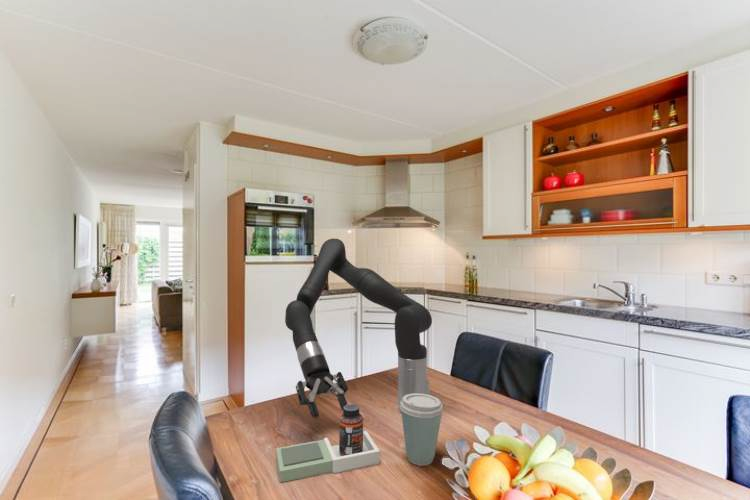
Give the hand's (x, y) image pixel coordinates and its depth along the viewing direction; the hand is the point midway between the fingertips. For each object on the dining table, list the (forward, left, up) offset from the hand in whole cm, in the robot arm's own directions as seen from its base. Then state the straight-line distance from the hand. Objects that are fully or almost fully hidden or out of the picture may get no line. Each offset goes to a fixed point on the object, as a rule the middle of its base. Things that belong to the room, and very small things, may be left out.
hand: (330, 413), depth 100 cm
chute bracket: (-3, +10, -7) cm, 12 cm away
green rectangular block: (+9, +10, -7) cm, 15 cm away
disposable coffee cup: (-19, +17, -7) cm, 26 cm away
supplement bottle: (-3, +10, -6) cm, 12 cm away
